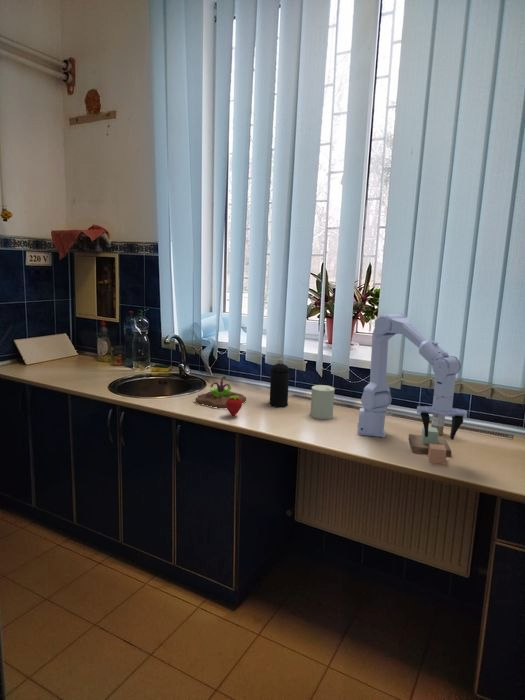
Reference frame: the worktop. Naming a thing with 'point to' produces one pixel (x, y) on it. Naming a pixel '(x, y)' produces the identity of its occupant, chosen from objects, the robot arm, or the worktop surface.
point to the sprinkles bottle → (438, 423)
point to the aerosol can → (279, 384)
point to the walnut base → (419, 447)
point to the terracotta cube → (437, 453)
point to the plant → (218, 395)
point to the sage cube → (430, 436)
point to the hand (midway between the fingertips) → (438, 437)
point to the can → (322, 402)
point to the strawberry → (234, 404)
